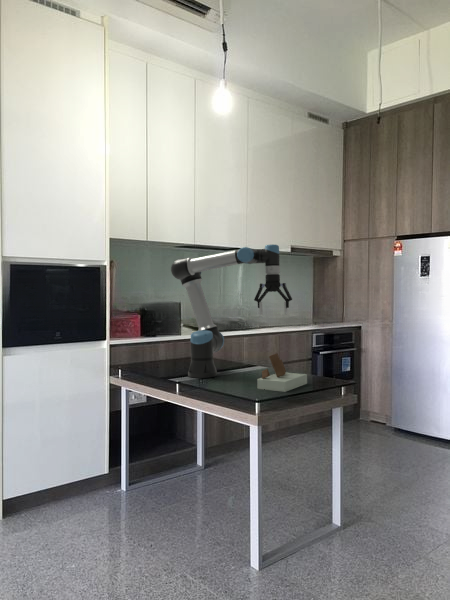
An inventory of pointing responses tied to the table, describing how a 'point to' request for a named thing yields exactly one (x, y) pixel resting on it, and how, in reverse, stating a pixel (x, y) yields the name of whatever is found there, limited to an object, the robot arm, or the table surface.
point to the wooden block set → (275, 366)
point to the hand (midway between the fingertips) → (273, 314)
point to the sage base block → (282, 382)
